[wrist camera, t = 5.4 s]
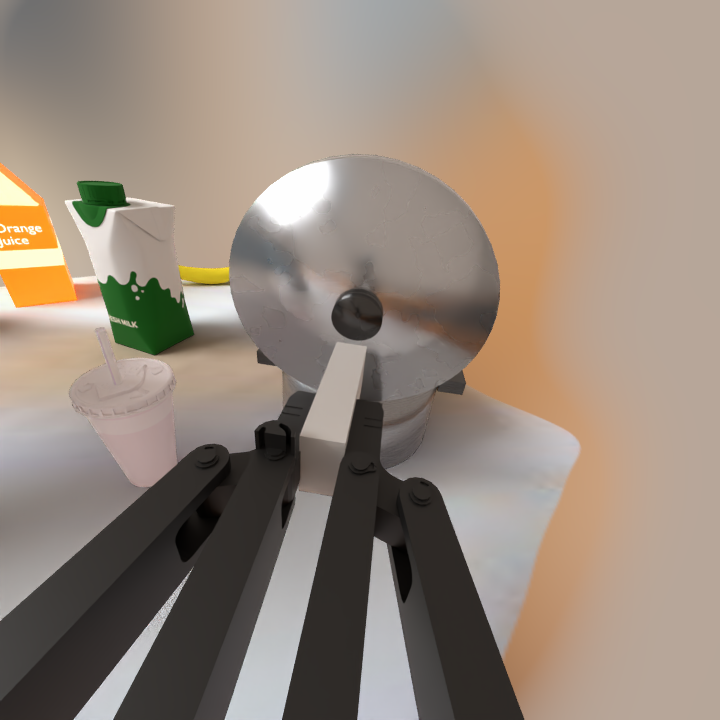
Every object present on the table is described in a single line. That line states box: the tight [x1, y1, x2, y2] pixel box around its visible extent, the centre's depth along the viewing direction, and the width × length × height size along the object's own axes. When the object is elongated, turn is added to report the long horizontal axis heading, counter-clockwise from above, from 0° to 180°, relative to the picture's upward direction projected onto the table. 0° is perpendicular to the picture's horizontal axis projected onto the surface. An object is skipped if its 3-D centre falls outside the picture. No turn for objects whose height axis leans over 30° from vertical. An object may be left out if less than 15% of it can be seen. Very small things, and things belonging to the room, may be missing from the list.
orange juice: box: [0, 163, 77, 308], centre depth 51 cm, size 8×9×20 cm
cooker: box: [257, 349, 466, 469], centre depth 35 cm, size 18×21×9 cm
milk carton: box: [65, 181, 194, 355], centre depth 42 cm, size 9×9×20 cm
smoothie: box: [69, 328, 177, 487], centre depth 25 cm, size 6×6×14 cm
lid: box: [229, 154, 500, 401], centre depth 20 cm, size 16×16×2 cm
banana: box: [178, 265, 230, 284], centre depth 66 cm, size 3×19×6 cm, turn 112°
